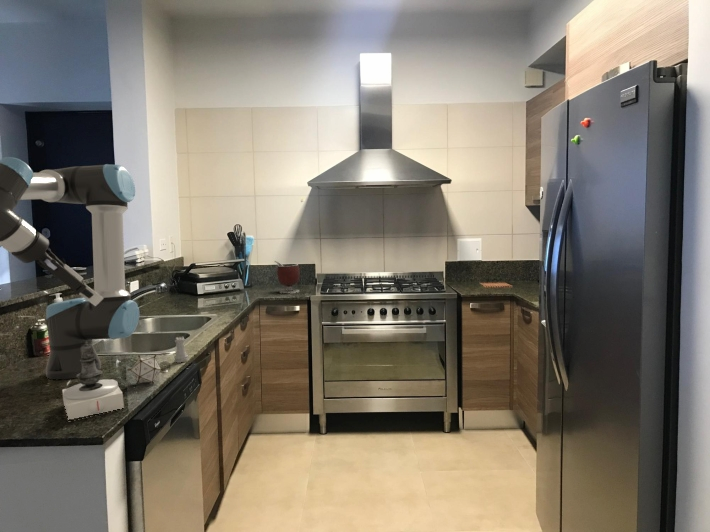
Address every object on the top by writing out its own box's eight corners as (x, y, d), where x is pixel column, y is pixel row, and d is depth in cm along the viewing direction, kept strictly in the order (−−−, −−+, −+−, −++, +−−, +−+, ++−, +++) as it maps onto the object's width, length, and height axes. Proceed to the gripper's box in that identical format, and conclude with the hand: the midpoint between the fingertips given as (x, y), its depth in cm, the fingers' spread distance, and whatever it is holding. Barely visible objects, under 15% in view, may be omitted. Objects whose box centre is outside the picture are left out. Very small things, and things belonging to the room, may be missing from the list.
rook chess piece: (176, 359, 163) (174, 336, 163) (190, 358, 164) (188, 335, 163) (172, 363, 159) (170, 339, 158) (186, 362, 159) (184, 338, 159)
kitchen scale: (63, 404, 126) (61, 385, 126) (114, 393, 133) (113, 375, 132) (68, 422, 114) (66, 401, 114) (124, 408, 121) (122, 389, 121)
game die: (148, 397, 139) (135, 377, 132) (130, 383, 143) (117, 363, 136) (173, 375, 144) (162, 355, 137) (155, 362, 148) (143, 341, 141)
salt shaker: (92, 391, 120) (87, 344, 119) (72, 391, 121) (66, 344, 120) (109, 383, 125) (104, 338, 124) (89, 383, 127) (84, 338, 125)
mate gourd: (303, 290, 312) (301, 259, 310) (296, 293, 298) (294, 261, 296) (280, 290, 315) (278, 259, 313) (272, 294, 301) (270, 261, 299)
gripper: (-5, 235, 121) (61, 283, 136) (26, 272, 106) (96, 322, 121) (20, 214, 123) (82, 264, 139) (54, 248, 108) (119, 299, 124)
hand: (89, 291), depth 130 cm, fingers open, 13 cm apart
